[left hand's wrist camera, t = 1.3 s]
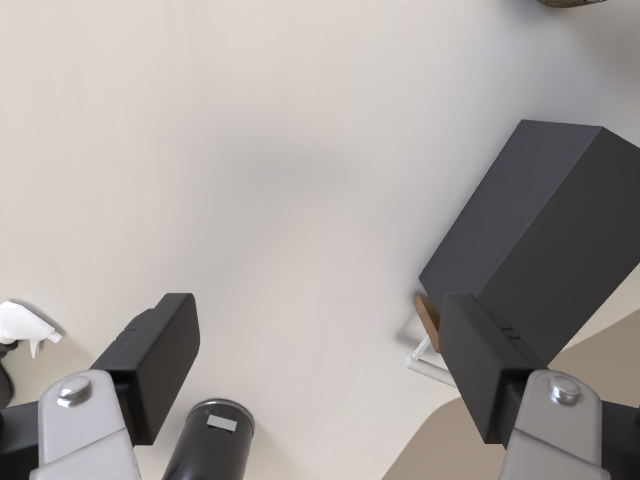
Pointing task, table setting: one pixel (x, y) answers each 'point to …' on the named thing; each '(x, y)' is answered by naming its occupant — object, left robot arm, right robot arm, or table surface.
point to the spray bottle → (20, 337)
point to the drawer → (431, 325)
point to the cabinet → (545, 232)
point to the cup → (568, 3)
